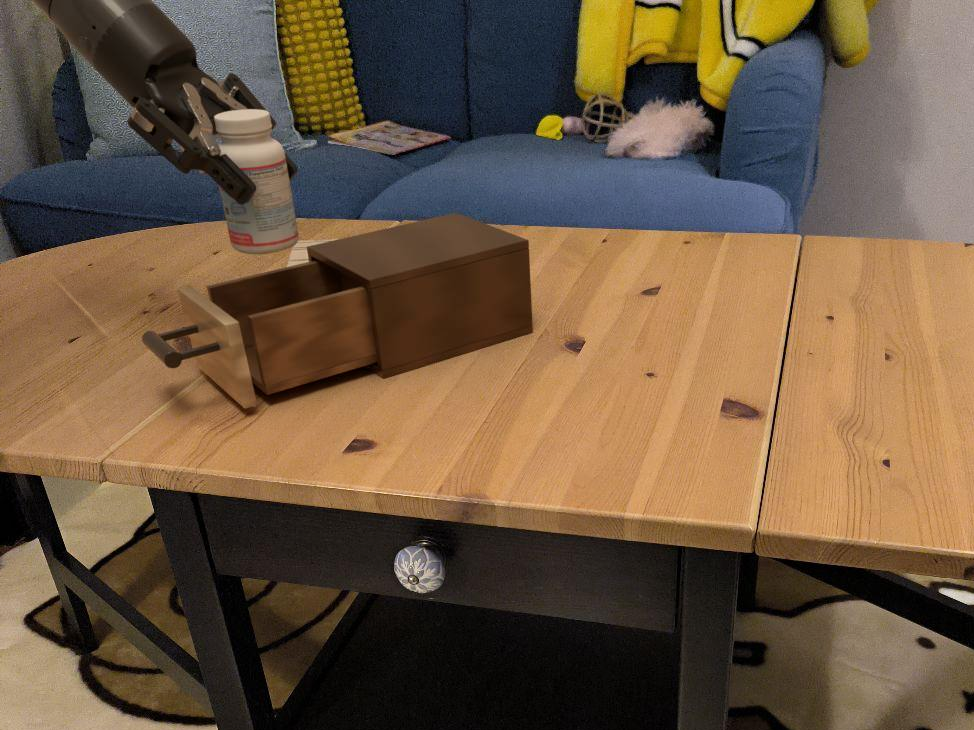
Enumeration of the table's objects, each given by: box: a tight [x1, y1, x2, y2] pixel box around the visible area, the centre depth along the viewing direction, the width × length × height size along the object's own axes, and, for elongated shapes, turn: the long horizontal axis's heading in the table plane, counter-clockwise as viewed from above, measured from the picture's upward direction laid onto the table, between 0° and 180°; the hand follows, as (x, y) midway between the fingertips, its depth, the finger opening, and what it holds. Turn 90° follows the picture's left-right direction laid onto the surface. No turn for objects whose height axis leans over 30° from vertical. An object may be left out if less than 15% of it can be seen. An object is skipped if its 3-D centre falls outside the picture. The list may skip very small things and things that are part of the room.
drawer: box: [141, 260, 378, 409], centre depth 90 cm, size 22×12×8 cm, turn 126°
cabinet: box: [307, 212, 534, 379], centre depth 98 cm, size 18×14×10 cm
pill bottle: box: [214, 109, 300, 255], centre depth 85 cm, size 6×6×11 cm
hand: (271, 186), depth 85 cm, fingers closed on pill bottle, 6 cm apart
